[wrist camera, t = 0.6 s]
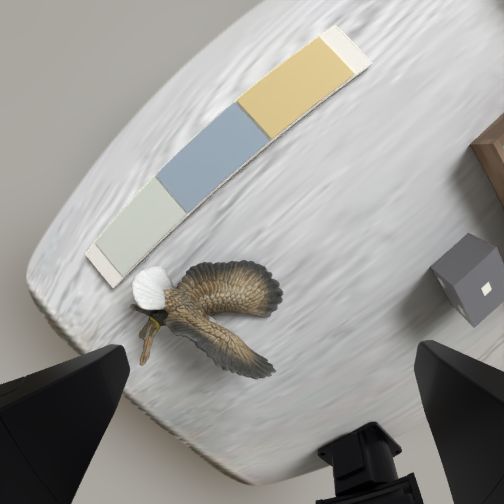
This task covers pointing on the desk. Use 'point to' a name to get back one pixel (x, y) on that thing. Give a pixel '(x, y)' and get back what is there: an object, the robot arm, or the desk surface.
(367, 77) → the desk surface
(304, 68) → the track board
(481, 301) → the die
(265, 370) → the eagle figurine
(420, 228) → the desk surface
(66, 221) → the desk surface
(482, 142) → the dice tray
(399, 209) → the desk surface
